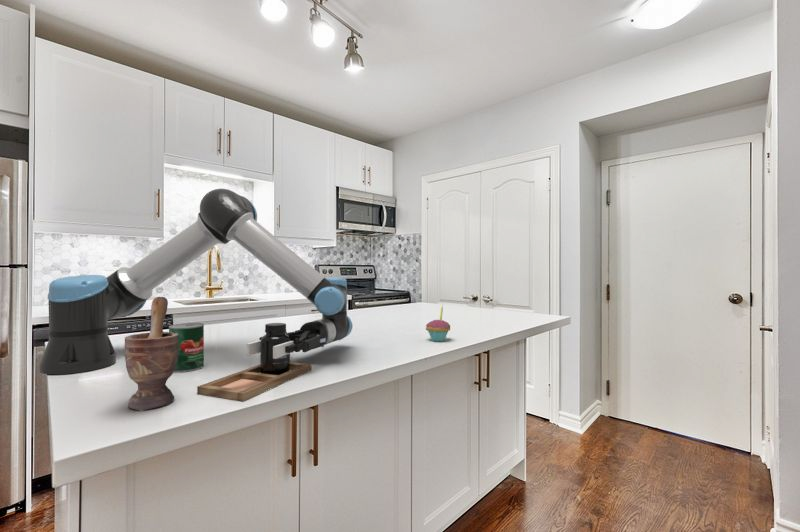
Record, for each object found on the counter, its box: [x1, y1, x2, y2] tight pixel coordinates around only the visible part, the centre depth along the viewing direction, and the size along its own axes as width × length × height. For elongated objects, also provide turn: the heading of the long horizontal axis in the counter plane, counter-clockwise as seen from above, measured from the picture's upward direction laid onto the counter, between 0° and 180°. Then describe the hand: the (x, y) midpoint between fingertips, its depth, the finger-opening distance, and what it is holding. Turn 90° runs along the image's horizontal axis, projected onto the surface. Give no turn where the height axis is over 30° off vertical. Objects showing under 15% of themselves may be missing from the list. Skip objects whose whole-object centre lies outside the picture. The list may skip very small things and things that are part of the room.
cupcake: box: [425, 305, 451, 342], centre depth 133 cm, size 9×8×12 cm
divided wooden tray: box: [196, 361, 312, 402], centre depth 87 cm, size 12×23×2 cm, turn 159°
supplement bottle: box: [259, 322, 291, 375], centre depth 92 cm, size 7×7×12 cm
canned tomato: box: [168, 322, 205, 373], centre depth 98 cm, size 8×8×11 cm
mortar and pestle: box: [124, 296, 179, 412], centre depth 74 cm, size 12×9×20 cm
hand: (261, 351), depth 87 cm, fingers closed on supplement bottle, 7 cm apart
